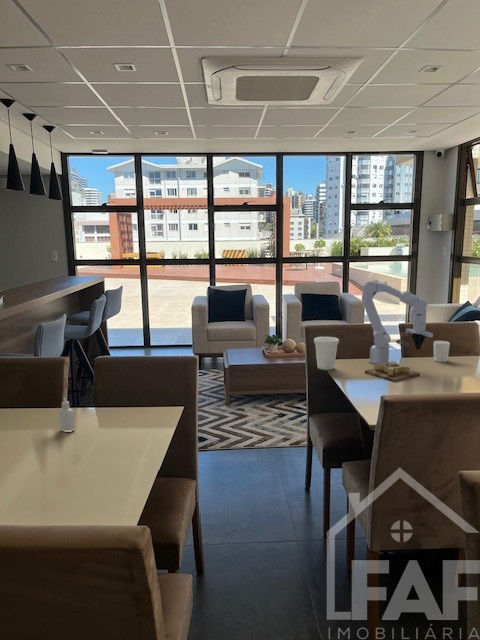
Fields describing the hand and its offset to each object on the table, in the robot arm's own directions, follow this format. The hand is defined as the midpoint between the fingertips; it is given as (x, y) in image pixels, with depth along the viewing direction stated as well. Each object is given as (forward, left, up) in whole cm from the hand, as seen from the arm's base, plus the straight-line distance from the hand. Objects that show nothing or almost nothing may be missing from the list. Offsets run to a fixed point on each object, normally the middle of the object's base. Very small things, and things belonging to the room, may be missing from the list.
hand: (418, 348), depth 229 cm
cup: (-26, -38, -10) cm, 47 cm away
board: (0, -19, -10) cm, 21 cm away
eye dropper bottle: (-19, -166, -10) cm, 167 cm away
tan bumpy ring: (0, -19, -8) cm, 21 cm away
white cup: (-2, +22, -10) cm, 24 cm away
